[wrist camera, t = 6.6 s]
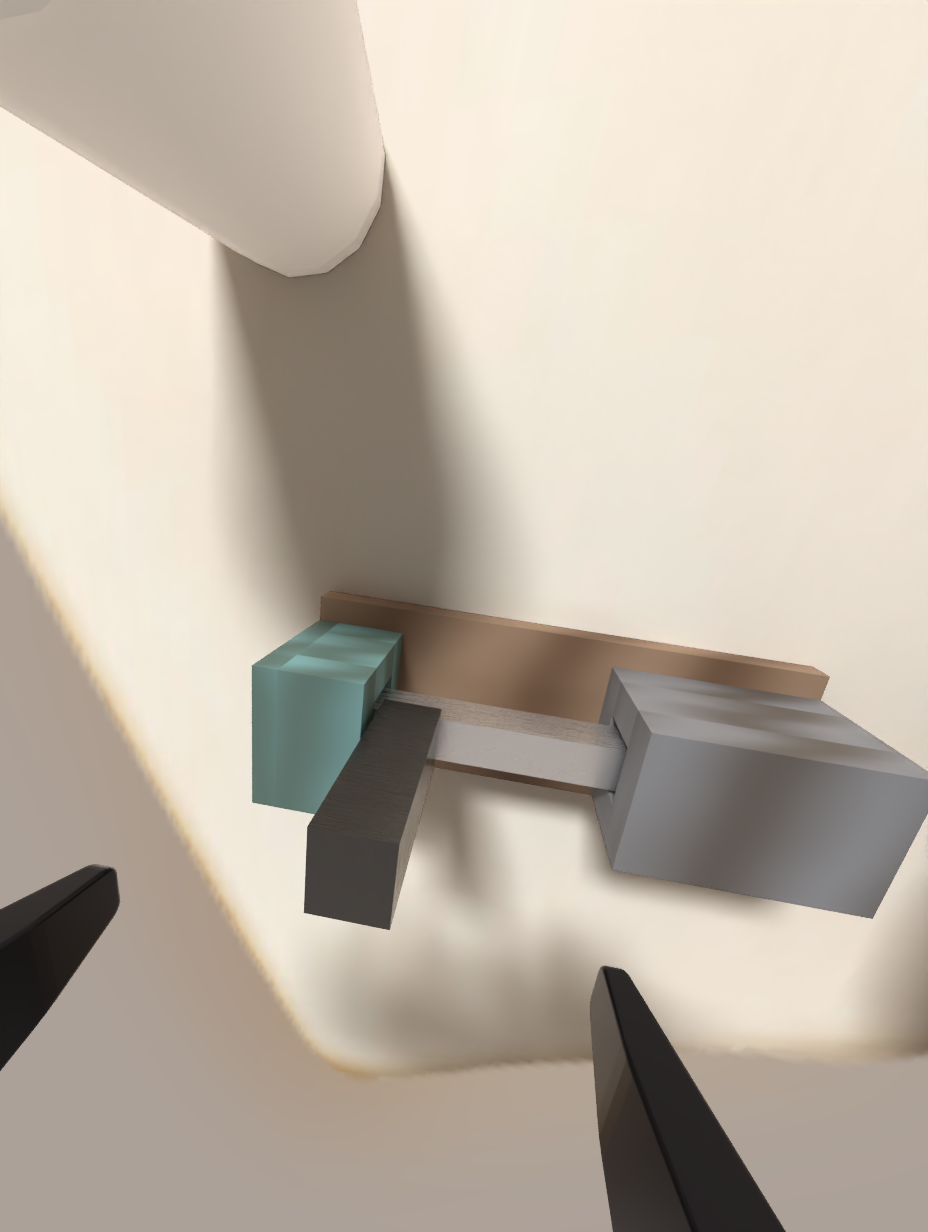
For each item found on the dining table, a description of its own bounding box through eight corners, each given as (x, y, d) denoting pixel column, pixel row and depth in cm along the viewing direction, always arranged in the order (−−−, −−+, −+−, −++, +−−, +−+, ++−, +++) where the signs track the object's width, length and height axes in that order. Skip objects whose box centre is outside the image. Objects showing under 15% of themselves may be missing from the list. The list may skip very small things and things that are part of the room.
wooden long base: (812, 666, 18) (960, 750, 12) (756, 810, 20) (859, 942, 14) (330, 591, 19) (251, 634, 13) (323, 734, 21) (252, 826, 15)
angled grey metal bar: (665, 725, 16) (797, 920, 9) (649, 780, 17) (758, 1003, 9) (327, 668, 17) (187, 803, 9) (324, 723, 17) (191, 889, 10)
